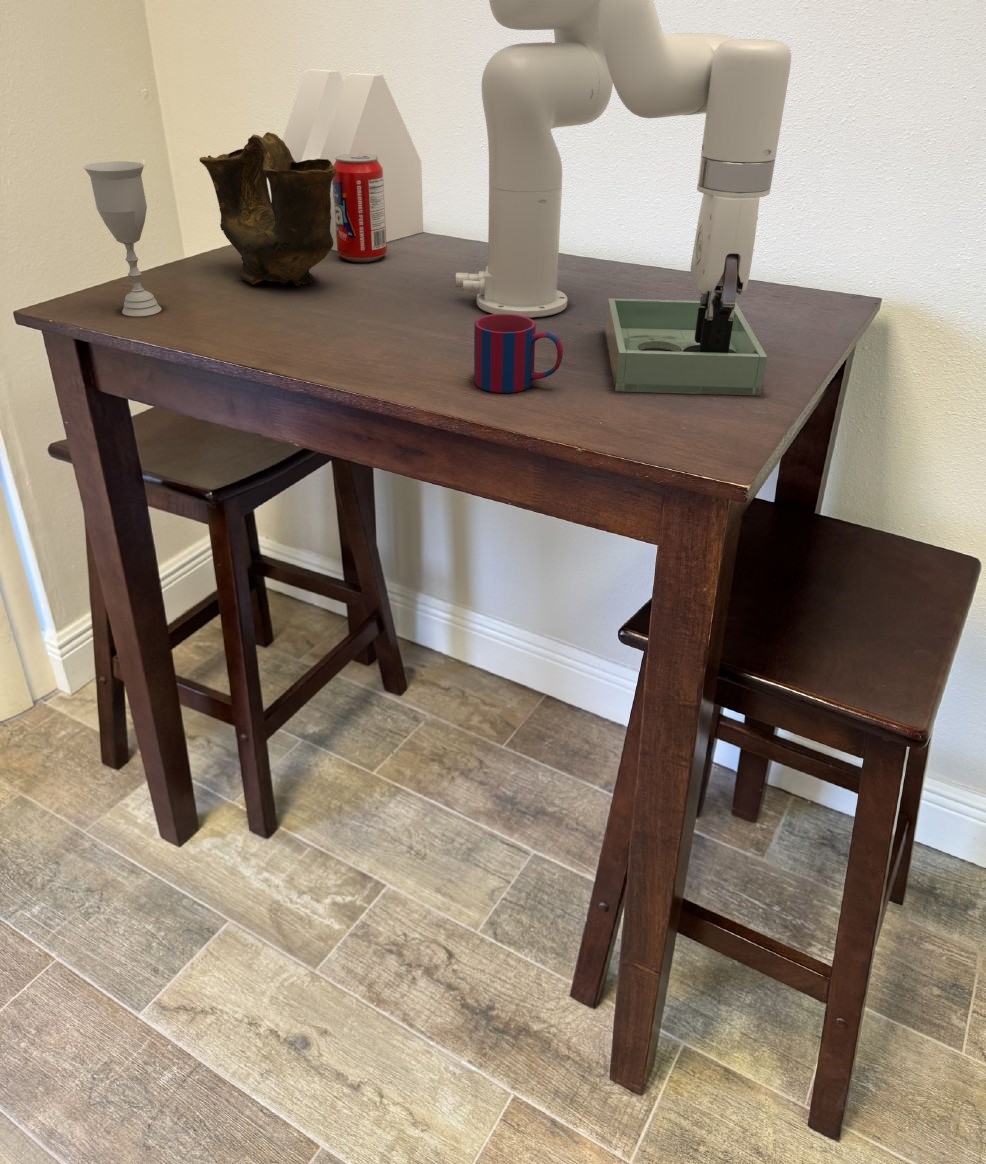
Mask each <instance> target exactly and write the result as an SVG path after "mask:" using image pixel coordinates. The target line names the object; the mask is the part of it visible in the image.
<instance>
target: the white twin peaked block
mask: <svg viewBox="0 0 986 1164" xmlns="http://www.w3.org/2000/svg"><path fill="white" fill-rule="evenodd" d="M281 140H282V141H284V143H285V145H286V146H287V148H288V149H289V150H290V153H291V155H292V157H293V159H294V161H295V162H297V163H298V162H301V161H306V160H315V159H328V160H329V161H331V163H332V165H334V163H335V161H336V160H335V157H336V156H338V155H343V154H370V155H375V156H377V157H378V162H379V163H380V165H381V166H382V168H383V179H384V201H385V223H386V243H388V242H392V241H396V240H400V239H403V238H407V237H410V236H413V235H417V234H422V233H424V212H423V211H424V210H423V209H424V207H423V206H424V205H423V173H422V171H423V170H422V169H423V168H422V167H423V166H422V160H421V158H420V155H419V153H418V151H417V149H416V146H415V144H414V142H413V140H412V137H411V134H410V132H409V130H408V129H407V126H406V124H405V122H404V120H403V117H402V114H401V113H400V110H399V108H398V106H397V103H396V102H395V100H394V97H393V95H392V93H391V90H390V87H389V85H388V83H387V81H386V79H385V77H384V74H375V73H374V74H373V73H362V72H350V73H347V74H346V77H345V80H344V79H343V77H342V74H341V73H340V71H339V70H332V69H323V68H322V69H321V68H305V69H304V70H303V73H302V76H301V80H300V83H299V86H298V89H297V93H296V95H295V99H294V102H293V105H292V108H291V111H290V114H289V118H288V120H287V124H286V126H285V129H284V133H283V137H282V139H281ZM330 190H331V191H330V197H331V225H330V232H331V235H332V239H333V247H332V249H331V250H330V251H335V252H338V251H337V240H336V227H335V213H334V200H333V186H332V182H331V189H330Z"/></svg>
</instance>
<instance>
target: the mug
mask: <svg viewBox="0 0 986 1164" xmlns="http://www.w3.org/2000/svg"><path fill="white" fill-rule="evenodd" d="M473 325H474V327H473V328H474V329H473V331H474V332H473V345H474V346H473V348H474V349H473V358H474V359H473V383H474V384H475V386H476V387H478V388H480V389H481V390H483V391H486V392H490V393H496V394H497V393H499V394H514V393H519V392H523V391H527V390H529V389H530V388H532V387H533V384H534V381H535V380H540V379H545V378H548V377H549V376H551V375H553V374H555V372H557V370H559V368H560V366H561V364H562V360H563V356H564V349H563V343H562V341H561V339H560V338H559V336H558V335H556V334H554V333H552V332H547V331H546V332H545V331H544V332H537V333H536V331H537V330H536V328H537V327H536V326H537V324H536V322H535V320H534V319H532V318H528V317H525V316H521V315H515V314H492V313H491V314H485V315H483V316H480V317H478V318H477V319H475V321H474V323H473ZM544 338H546V339H550V340H551V341H552V342H553V343H554V345H555V347H556V361H555V364H554V366H552V368H551V369H549V370H547V371H543V372H536V371H535V360H536V359H535V358H536V355H535V354H536V342H537V341H538V340H540V339H544Z"/></svg>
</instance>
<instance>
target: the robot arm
mask: <svg viewBox="0 0 986 1164" xmlns="http://www.w3.org/2000/svg"><path fill="white" fill-rule="evenodd" d="M488 2H489V7H490V11H491V13H492V16H493V18H494V19H495V21H496V23H498V24H499V25H501V26H502V27H505V28H507V29H511V30H515V31H517V30H518V31H545V30H546V31H548V30H549V31H550V30H551V31H552V30H553V34H554V35H553V36H554V42H552V41H546V42H523V43H516V44H512V45H508V46H505V47H503V48H502V49H500V50H498V51H497V52H495V53H494V54H493V55H492V56H491V57H490V59H489V60H488V61H487V63H486V65H485V67H484V70H483V72H482V78H481V86H480V87H481V101H482V106H483V107H482V108H483V112H484V119H485V124H486V125H485V126H486V132H487V133H486V134H487V144H488V146H487V147H488V149H487V150H488V235H487V237H488V239H487V241H488V245H487V249H488V250H487V265H486V267H485V270H479V271H478V273H469V272H456V273H455V287H456V288H462V291H468V292H469V291H472V292H473V291H479V292H478V293H477V294H476V306H477V307H478V308H479V309H480V310H482V311H484V312H486V313H489V314H491V315H492V314H515V315H521V316H525V317H528V318H530V319H532V318H543V317H549V316H552V315H557V314H559V313H562V312H563V311H564V310H565V309H566V308H567V307H568V296H567V295H566V294H565V293H564V292H562V291H561V290H558V275H559V274H558V273H559V255H560V254H559V251H560V235H561V215H562V214H561V213H562V195H563V163H562V158H561V154H560V152H559V149H558V147H557V144H556V142H555V139H554V137H553V134H552V129H556V128H564V127H565V128H566V127H573V126H575V127H576V126H582V125H586V124H590V123H592V122H594V121H596V120H597V119H598V118H600V117H601V116H602V115H603V114H604V112H605V111H606V109H607V108H608V105H609V103H610V100H611V98H612V92H613V87H614V89H615V91H616V93H617V95H618V98H619V99H620V101H621V103H622V104H623V105H624V107H625V108H626V109H627V110H628V111H629V112H630V113H632V114H633V115H634V116H637V117H640V118H644V119H660V118H668V117H669V118H670V117H680V116H693V115H703V114H705V120H704V129H703V137H702V144H701V152H700V160H699V161H700V162H699V170H698V177H697V184H696V191H698V193H702V194H703V195H702V198H701V202H700V203H701V204H700V207H699V208H700V209H699V214H698V219H697V225H696V230H695V232H696V233H695V238H694V244H693V250H692V257H691V263H690V274H691V275H690V276H691V277H692V280H693V281H694V283H695V286H696V287H697V289H698V290H699V291H700V299H699V301H700V307H704V308H698V316H697V323H696V331H695V342H696V343H700V348H699V351H700V352H705V353H728V352H729V346H730V339H731V333H732V326H733V317H734V310H735V302H736V301H737V294H738V295H742V294H743V293H745V292H746V290H747V288H748V284H749V279H750V274H751V269H752V268H751V267H752V262H753V255H754V249H755V248H754V247H755V241H756V235H757V234H756V233H757V225H758V219H759V216H758V215H759V206H760V198H763V197H766V196H769V195H771V188H772V183H773V177H774V170H775V165H776V157H777V151H778V145H779V141H780V140H779V139H780V135H781V134H780V132H781V126H782V121H783V114H784V109H785V103H786V96H787V89H788V84H789V77H790V71H791V66H792V65H791V64H792V52H791V49H790V47H789V46H788V44H786V43H785V42H783V41H780V40H779V41H778V40H773V39H757V38H748V39H747V38H734V37H732V36H728V35H726V34H721V33H716V32H715V33H714V32H680V33H679V32H678V33H664V32H663V30H662V26H661V23H660V19H659V16H658V11H657V9H656V4H655V0H488ZM736 303H737V302H736ZM706 310H707V318H705V314H706Z"/></svg>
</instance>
